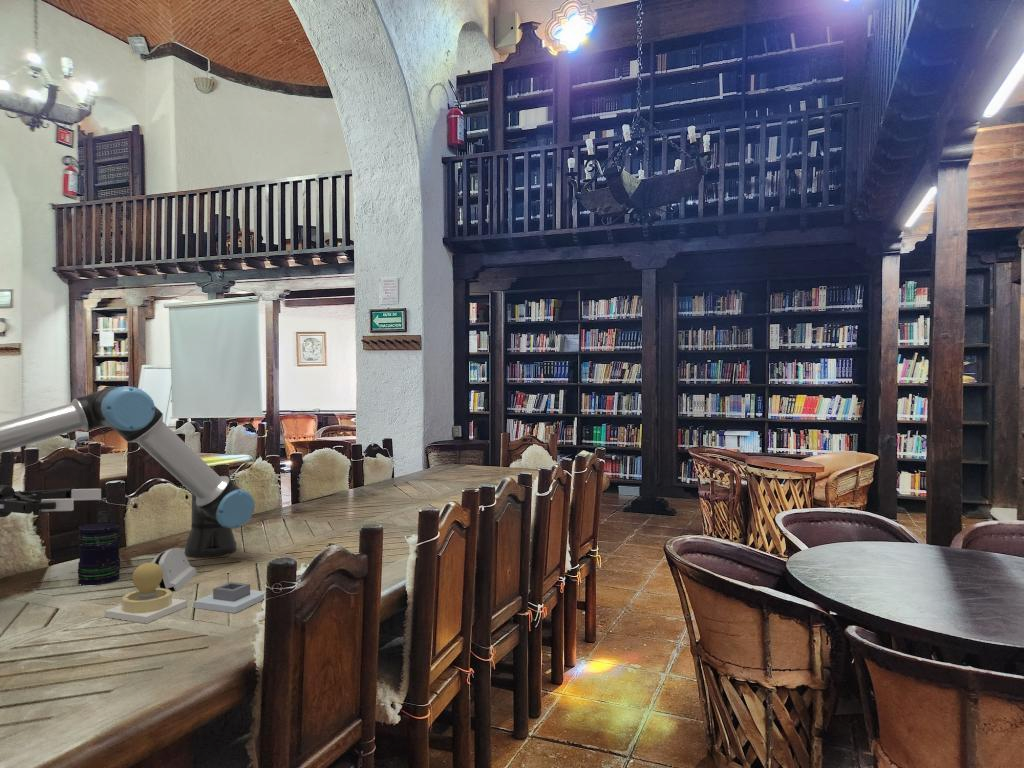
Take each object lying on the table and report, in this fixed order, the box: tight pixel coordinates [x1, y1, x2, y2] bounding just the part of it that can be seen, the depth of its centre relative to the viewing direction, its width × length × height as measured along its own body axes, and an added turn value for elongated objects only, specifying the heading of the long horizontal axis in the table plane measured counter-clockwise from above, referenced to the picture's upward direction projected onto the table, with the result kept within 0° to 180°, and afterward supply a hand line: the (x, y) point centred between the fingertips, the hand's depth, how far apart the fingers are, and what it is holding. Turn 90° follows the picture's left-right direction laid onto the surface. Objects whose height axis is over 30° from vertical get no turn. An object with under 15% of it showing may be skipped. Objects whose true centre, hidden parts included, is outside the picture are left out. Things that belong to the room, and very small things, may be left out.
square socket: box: [193, 581, 265, 614], centre depth 161 cm, size 12×12×4 cm
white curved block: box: [150, 547, 198, 592], centre depth 176 cm, size 17×5×10 cm, turn 9°
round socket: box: [104, 588, 188, 624], centre depth 153 cm, size 12×12×4 cm
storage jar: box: [77, 521, 122, 586], centre depth 177 cm, size 10×10×15 cm
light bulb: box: [131, 562, 163, 601], centre depth 153 cm, size 6×6×10 cm
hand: (87, 499), depth 157 cm, fingers open, 13 cm apart
